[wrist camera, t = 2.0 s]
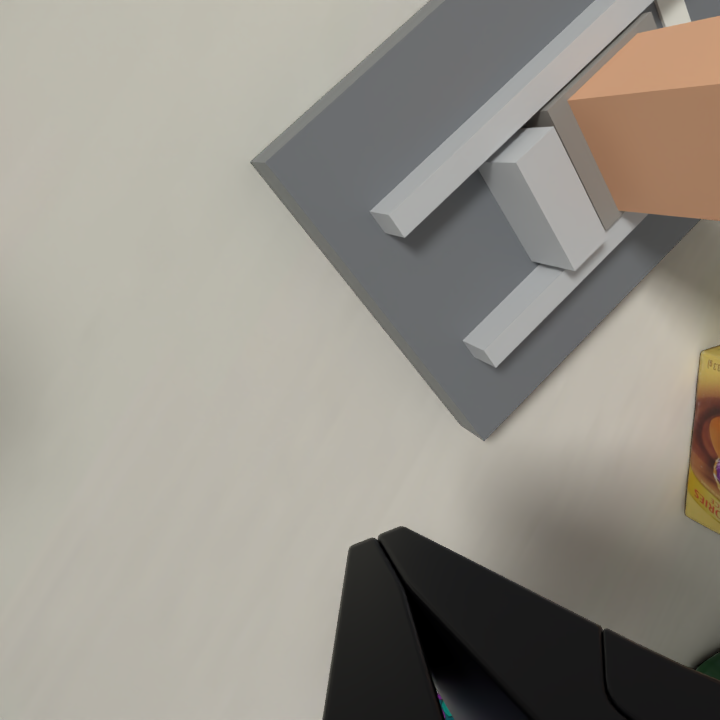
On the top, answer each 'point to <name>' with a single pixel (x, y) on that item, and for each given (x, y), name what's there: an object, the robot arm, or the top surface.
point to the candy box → (706, 445)
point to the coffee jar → (711, 667)
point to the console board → (471, 194)
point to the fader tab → (646, 121)
